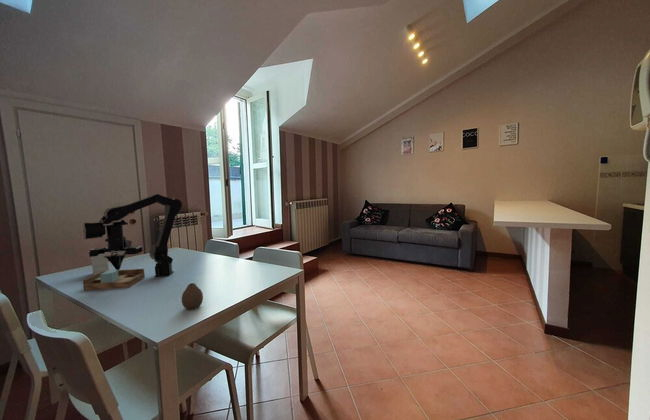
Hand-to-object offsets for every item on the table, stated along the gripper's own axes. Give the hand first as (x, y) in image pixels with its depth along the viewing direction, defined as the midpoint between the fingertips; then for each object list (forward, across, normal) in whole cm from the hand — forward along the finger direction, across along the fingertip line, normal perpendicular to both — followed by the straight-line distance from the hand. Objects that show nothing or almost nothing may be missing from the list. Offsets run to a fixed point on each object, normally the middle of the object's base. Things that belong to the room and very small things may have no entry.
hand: (118, 269), depth 118 cm
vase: (+8, -41, +31) cm, 52 cm away
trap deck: (+7, +3, -3) cm, 9 cm away
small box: (+8, +20, -21) cm, 30 cm away
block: (+5, +4, 0) cm, 6 cm away
